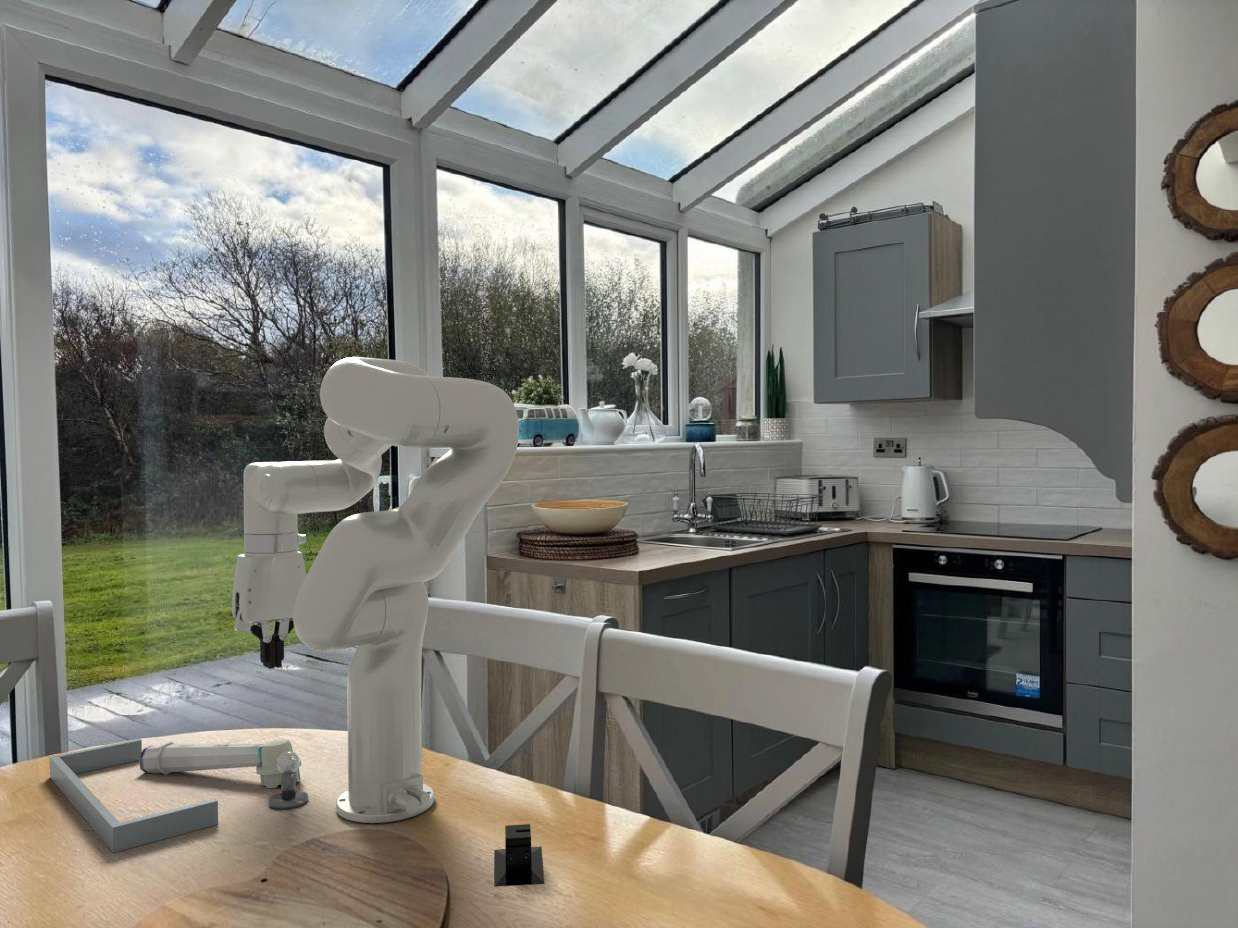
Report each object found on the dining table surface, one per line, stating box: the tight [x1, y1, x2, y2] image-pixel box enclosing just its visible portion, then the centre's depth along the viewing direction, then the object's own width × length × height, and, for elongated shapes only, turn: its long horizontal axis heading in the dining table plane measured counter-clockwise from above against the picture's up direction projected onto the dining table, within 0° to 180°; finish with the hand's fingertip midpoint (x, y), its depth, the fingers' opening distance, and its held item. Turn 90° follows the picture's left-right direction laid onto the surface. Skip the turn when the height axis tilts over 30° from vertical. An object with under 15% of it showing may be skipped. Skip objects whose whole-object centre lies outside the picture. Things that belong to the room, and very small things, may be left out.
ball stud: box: [268, 751, 309, 810], centre depth 124 cm, size 5×5×7 cm
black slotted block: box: [493, 823, 545, 888], centre depth 105 cm, size 12×7×5 cm, turn 7°
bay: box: [49, 738, 219, 854], centre depth 125 cm, size 34×12×3 cm, turn 42°
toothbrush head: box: [138, 739, 302, 789], centre depth 134 cm, size 5×7×25 cm
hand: (272, 666), depth 139 cm, fingers closed
